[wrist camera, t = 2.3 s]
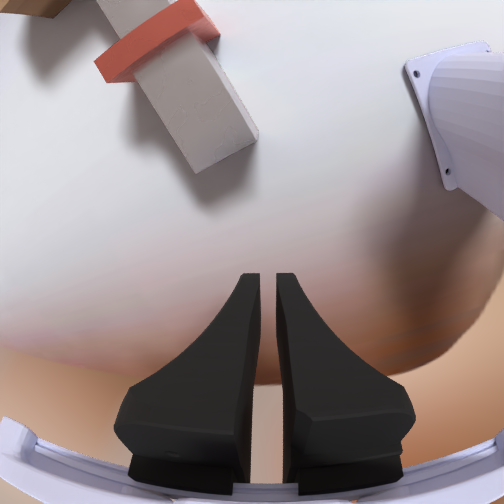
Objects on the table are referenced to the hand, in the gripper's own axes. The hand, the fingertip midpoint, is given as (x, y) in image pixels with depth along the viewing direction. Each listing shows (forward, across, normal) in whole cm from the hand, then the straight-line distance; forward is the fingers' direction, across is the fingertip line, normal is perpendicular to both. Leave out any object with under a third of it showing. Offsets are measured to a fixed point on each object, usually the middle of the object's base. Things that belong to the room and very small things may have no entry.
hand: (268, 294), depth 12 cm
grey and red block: (+10, +6, -11) cm, 16 cm away
